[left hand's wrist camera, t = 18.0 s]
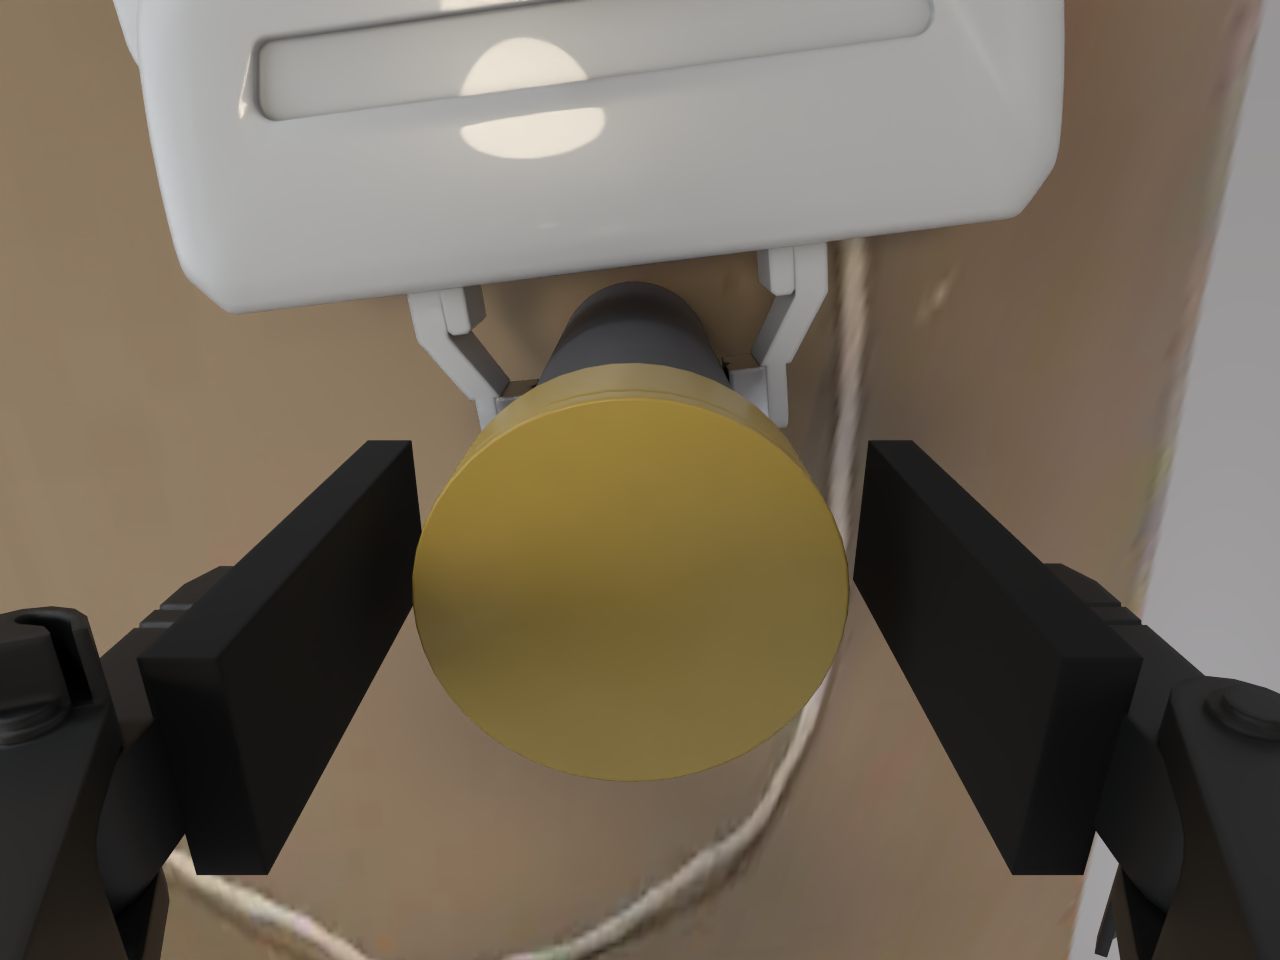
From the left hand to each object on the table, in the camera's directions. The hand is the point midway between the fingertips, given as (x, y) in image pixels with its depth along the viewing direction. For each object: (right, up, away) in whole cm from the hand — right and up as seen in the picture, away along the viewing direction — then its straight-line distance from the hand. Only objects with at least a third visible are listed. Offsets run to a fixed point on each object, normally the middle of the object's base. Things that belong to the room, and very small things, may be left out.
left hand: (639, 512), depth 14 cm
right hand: (0, +2, +7) cm, 7 cm away
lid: (0, -1, -3) cm, 3 cm away
